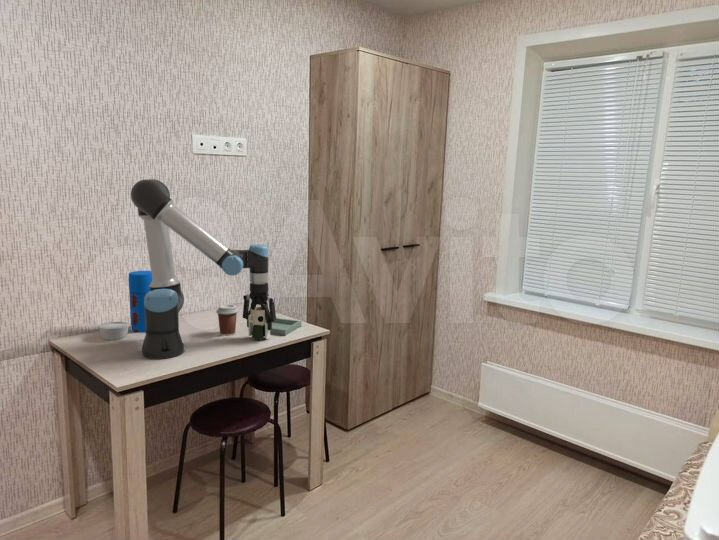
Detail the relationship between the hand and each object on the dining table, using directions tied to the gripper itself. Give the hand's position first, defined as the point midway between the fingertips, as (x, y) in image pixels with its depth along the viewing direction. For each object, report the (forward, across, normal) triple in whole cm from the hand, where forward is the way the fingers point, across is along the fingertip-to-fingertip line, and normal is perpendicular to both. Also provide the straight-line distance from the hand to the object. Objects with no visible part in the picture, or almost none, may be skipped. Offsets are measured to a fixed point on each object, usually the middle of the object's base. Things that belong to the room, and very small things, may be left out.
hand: (259, 336), depth 215 cm
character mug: (+1, 0, 0) cm, 1 cm away
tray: (+1, 0, -16) cm, 16 cm away
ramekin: (+1, +55, +22) cm, 59 cm away
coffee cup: (+1, +16, -1) cm, 16 cm away
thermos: (+1, +52, +8) cm, 53 cm away
